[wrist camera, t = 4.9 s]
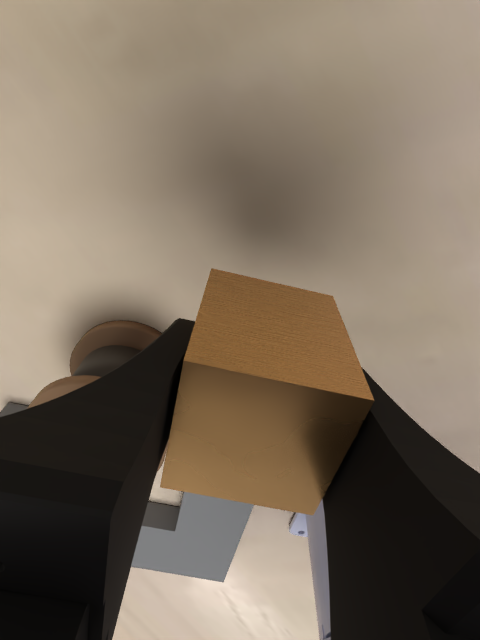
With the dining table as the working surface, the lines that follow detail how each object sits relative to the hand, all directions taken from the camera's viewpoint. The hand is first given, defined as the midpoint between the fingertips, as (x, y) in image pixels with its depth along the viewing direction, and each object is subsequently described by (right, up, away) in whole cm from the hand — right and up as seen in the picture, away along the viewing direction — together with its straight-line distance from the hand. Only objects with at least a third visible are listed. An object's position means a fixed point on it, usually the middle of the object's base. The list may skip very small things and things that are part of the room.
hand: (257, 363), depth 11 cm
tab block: (0, +1, +1) cm, 2 cm away
